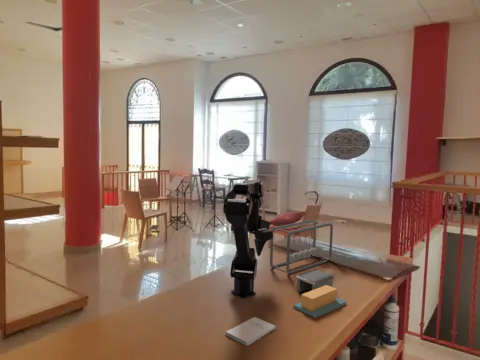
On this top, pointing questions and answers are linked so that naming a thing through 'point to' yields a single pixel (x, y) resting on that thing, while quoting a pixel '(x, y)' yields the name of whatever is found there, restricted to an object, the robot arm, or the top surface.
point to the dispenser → (313, 280)
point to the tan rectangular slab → (318, 297)
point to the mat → (321, 308)
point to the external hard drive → (250, 331)
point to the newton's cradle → (301, 254)
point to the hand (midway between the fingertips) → (250, 252)
